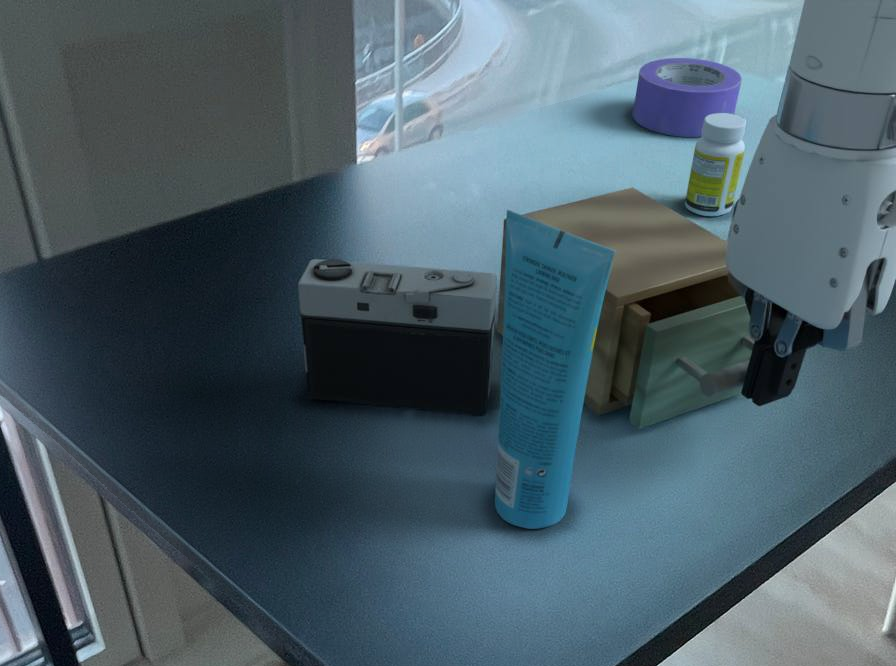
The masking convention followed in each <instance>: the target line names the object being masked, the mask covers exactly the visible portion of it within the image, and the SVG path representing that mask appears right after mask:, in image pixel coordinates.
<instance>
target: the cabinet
mask: <svg viewBox="0 0 896 666" xmlns="http://www.w3.org/2000/svg"><path fill="white" fill-rule="evenodd" d="M521 215H523V216H526V217H529V218H531V219H534V220H537V221H539V222H542V223H544V224H546V225H549V226H551V227H554V228H557V229H559V230H562V231H563V232H567V233H569V234H572V235H574V236H577V237H580V238H583V239H585V240H588V241H591V242H594V243H597V244H599V245H602V246H604V247H607V248H610V249H613V250H615V251H616V253H615V256H614V258H613V262H612V267H611V272H610V275H609V279H608V283H607V286H606V290H605V295H604V299H603V304H602V308H601V313H600V317H599V322H598V327H597V332H596V337H595V342H594V347H593V353H592V358H591V363H590V369H589V374H588V379H587V385H586V391H585V396H584V402H583V405H586V407H588V408H589V409H590V410H591V411H593V412H594V413H595V414H596V415H598V416H601V415H605V414H609V413H610V412H614V411H617V410H619V409H623V408H625V407H628V406H632V404H631V405H628V406H626V405H625V404H623V403H622V402H621V401H619V400H618V399H617V398H616V397H614V396H613V395H612V394H611V393H610V391H611V385H612V378H613V372H614V366H615V360H616V353H617V347H618V341H619V335H620V328H621V322H622V316H623V310H624V305H626V304H629V303H633V302H636V301H639V300H643V299H646V298H650V297H653V296H656V295H660V294H663V293H667V292H670V291H674V290H677V289H680V288H684V287H687V286H691V285H694V284H697V283H701V282H704V281H708V280H711V279H714V278H718V277H721V276H725V275H728V273H729V270H728V268H727V265H726V253H727V246H728V242H727V240H725V239H723V238H722V237H720V236H718V235H716V234H715V233H713V232H711V231H709V230H708V229H706V228H704V227H702V226H700V225H699V224H697V223H695V222H694V221H692V220H690V219H688V218H687V217H685V216H683V215H681V214H680V213H679V212H676V211H675V210H673V209H671V208H669V207H668V206H666V205H664V204H663V203H661V202H659V201H657V200H656V199H653V198H652V197H650V196H649V195H647V194H645V193H643V192H641V191H640V190H638V189H636V188H634V187H629V188H625V189H620V190H617V191H613V192H607V193H604V194H600V195H596V196H592V197H588V198H584V199H580V200H576V201H571V202H566V203H564V204H559V205H555V206H551V207H547V208H543V209H539V210H536V211H531V212H527V213H522V214H521ZM501 246H502V247H501V258H500V259H501V260H500V262H501V263H500V273H499V274H500V275H499V291H498V307H497V321H496V332H497V333H498V334H499V335H500V336H502V337H503V325H504V298H505V258H506V218H504V219H503V229H502V245H501Z"/></svg>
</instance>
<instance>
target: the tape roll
mask: <svg viewBox="0 0 896 666" xmlns="http://www.w3.org/2000/svg"><path fill="white" fill-rule="evenodd" d="M742 79H743V77H742V76H741V74H740V73H739V72H738V71H737V70H735V69H734V68H733V67H732V68H731V67H730V66H728V65H725V64H723V63H719V62H715V61H712V60H706V59H699V58H693V57H691V58H690V57H670V58H661V59H656V60H652V61H649V62H647V63H645V64H643V65H642V66H641V67H640V68H639V72H638V78H637V84H636V90H635V96H634V103H633V109H632V118H633V120H634V121H635V122H636V123H637V124H638V125H640V126H641V127H643V128H645V129H647V130H649V131H653V132H655V133H659V134H662V135H667V136H673V137H682V138H700V137H702V127H703V123H704V119H705V117H706V116H708V115H710V114H715V113H728V114H734V115H735V112H736V107H737V104H738V98H739V95H740V90H741V85H742V81H743V80H742Z"/></svg>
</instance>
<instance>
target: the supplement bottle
mask: <svg viewBox="0 0 896 666" xmlns="http://www.w3.org/2000/svg"><path fill="white" fill-rule="evenodd" d="M746 126H747V121H746V119H745V118H744V117H742V116H740V115H738V114H735V113H734V114H728V113H715V114H710V115H708V116H706V117H705V119H704V123H703V127H702V137H698V139H697V141H696V142H695V146H694V150H693V151H694V152H693V156H692V161H691V168H690V173H689V178H688V184H687V189H686V195H685V201H684V205H685V207H686V209H687V210H689V211H690V212H692V213H694V214H697V215H700V216H705V217H718V216H723V215H726V214H728V213H730V212H731V210H732V209H733V206H734V200H735V198H736V191H737V187H738V184H739V179H740V173H741V168H742V164H743V160H744V155H745V150H746V145H745V141H743V139H744V135H745V131H746Z"/></svg>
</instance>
